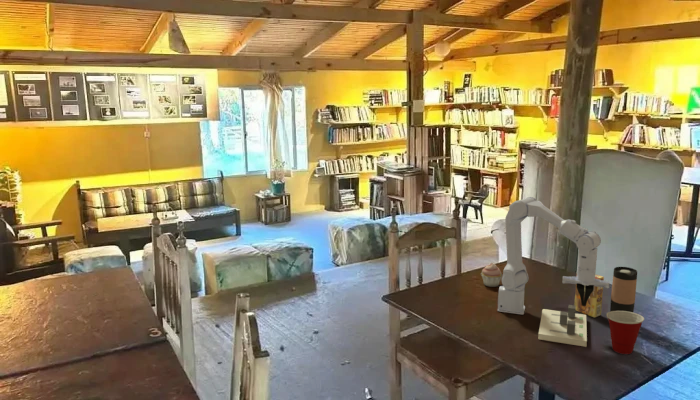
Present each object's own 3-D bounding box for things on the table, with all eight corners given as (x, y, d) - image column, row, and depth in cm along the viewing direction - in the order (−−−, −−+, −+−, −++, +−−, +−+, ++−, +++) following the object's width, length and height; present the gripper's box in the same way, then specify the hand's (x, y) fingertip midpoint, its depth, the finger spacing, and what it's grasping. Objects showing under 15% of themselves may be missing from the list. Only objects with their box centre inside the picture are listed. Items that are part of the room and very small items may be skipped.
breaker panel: (538, 339, 180) (538, 333, 179) (542, 313, 200) (542, 308, 199) (586, 346, 174) (586, 341, 174) (585, 319, 194) (586, 314, 193)
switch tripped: (559, 324, 185) (560, 314, 185) (559, 320, 188) (560, 311, 187) (566, 325, 185) (567, 315, 184) (567, 321, 187) (567, 312, 186)
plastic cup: (622, 339, 178) (626, 306, 176) (648, 355, 168) (652, 319, 166) (595, 344, 175) (598, 310, 173) (620, 360, 165) (623, 324, 163)
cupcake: (479, 280, 235) (480, 258, 233) (501, 281, 233) (502, 259, 231) (480, 287, 226) (481, 265, 224) (503, 289, 224) (504, 266, 222)
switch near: (566, 333, 178) (567, 323, 177) (566, 330, 181) (567, 320, 180) (574, 334, 177) (575, 324, 177) (574, 331, 180) (575, 321, 179)
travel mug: (613, 316, 196) (618, 265, 192) (635, 322, 191) (641, 269, 187) (605, 322, 191) (610, 270, 187) (628, 329, 186) (633, 275, 182)
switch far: (567, 317, 191) (568, 307, 190) (567, 313, 193) (568, 304, 193) (574, 318, 190) (575, 308, 189) (574, 314, 193) (575, 305, 192)
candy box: (601, 315, 197) (604, 276, 194) (594, 318, 195) (598, 278, 192) (579, 307, 205) (582, 269, 201) (573, 310, 202) (576, 272, 199)
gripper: (563, 268, 179) (560, 306, 182) (610, 273, 173) (607, 312, 176) (563, 262, 185) (561, 298, 188) (609, 266, 180) (606, 304, 182)
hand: (583, 304), depth 182 cm, fingers closed
